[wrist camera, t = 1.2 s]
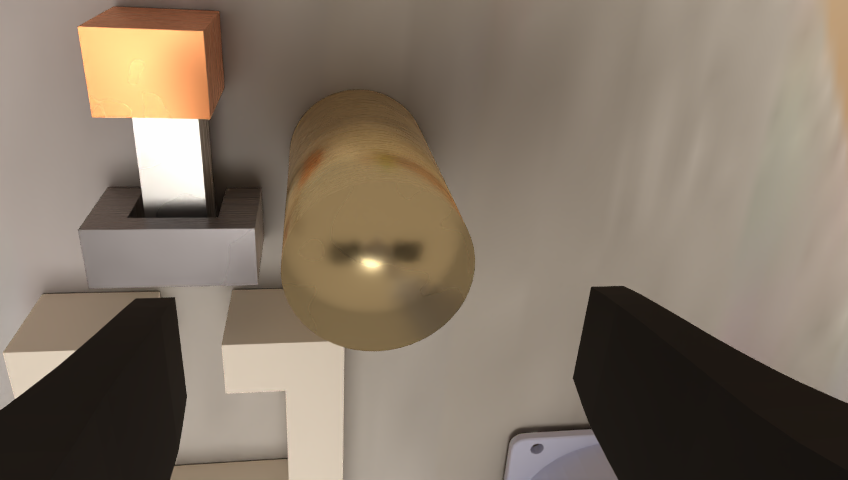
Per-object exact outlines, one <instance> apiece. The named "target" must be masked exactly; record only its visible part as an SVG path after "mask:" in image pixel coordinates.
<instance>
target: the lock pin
mask: <svg viewBox="0 0 848 480" xmlns="http://www.w3.org/2000/svg"><path fill="white" fill-rule="evenodd" d="M78 33H79V39H80V45H81V51H82V57H83V64H84V70H85V76H86V82H87V89H88V95H89V101H90V107H91V114H92V117H110V118H132V122H133V130H134V137H135V145H136V152H137V160H138V167H139V175H140V182H141V190H142V197H143V205H144V212H145V218H216V208H215V196H214V184H213V171H212V159H211V147H210V135H209V123H208V119H211V116H212V114H213V112H214V110H215V108H216V105H217V103H218V101H219V99H220V96H221V94H222V92H223V90H224V72H223V58H222V43H221V29H220V15H219V11H206V10H182V9H159V8H135V7H112V8H110V9H108V10H106V11H105V12H103V13H101V14H99V15H97V16H96V17H94V18H92V19H90V20H88V21H87V22H85V23H83V24H81V25H80V26H78Z"/></svg>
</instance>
